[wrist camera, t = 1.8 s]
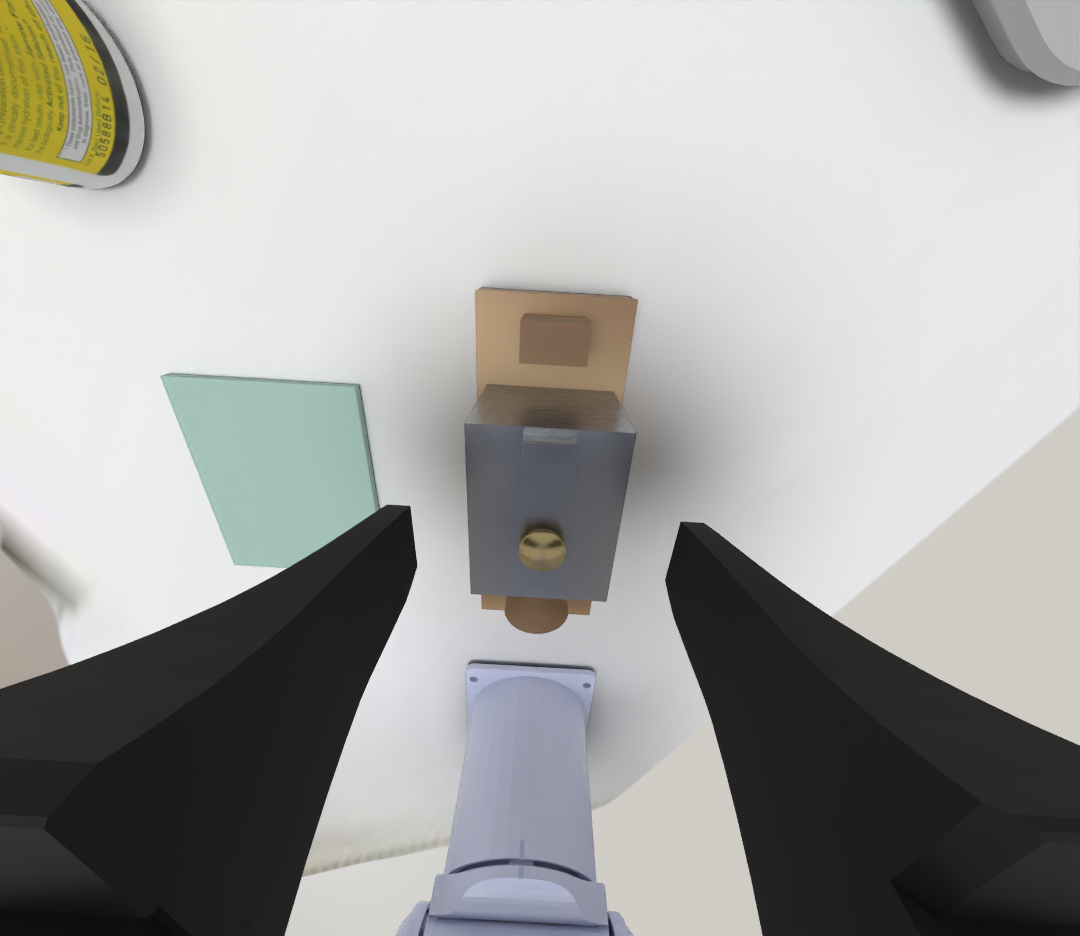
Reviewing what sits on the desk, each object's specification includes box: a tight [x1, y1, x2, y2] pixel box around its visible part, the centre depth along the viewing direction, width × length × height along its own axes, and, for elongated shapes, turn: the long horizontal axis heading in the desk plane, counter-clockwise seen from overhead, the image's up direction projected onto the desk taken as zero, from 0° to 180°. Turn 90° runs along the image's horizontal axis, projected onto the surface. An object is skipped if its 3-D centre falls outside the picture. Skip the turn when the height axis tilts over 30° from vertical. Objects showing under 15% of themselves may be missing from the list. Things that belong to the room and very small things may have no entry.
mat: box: [160, 374, 379, 568], centre depth 18 cm, size 10×8×1 cm
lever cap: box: [464, 384, 636, 602], centre depth 13 cm, size 6×4×5 cm
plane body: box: [475, 287, 638, 634], centre depth 16 cm, size 14×6×4 cm, turn 177°
